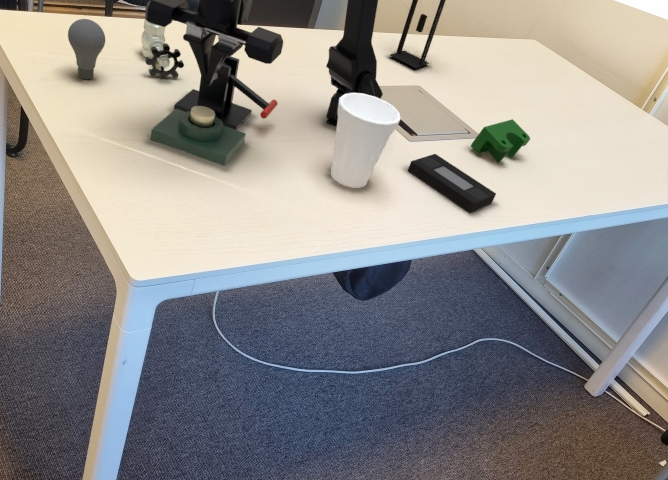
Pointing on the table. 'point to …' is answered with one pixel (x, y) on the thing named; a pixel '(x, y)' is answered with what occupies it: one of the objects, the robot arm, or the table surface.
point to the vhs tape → (452, 182)
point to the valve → (158, 51)
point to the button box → (198, 137)
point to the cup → (361, 137)
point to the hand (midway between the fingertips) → (207, 84)
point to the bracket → (218, 97)
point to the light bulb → (86, 45)
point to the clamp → (500, 140)
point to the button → (202, 116)
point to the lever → (253, 95)
